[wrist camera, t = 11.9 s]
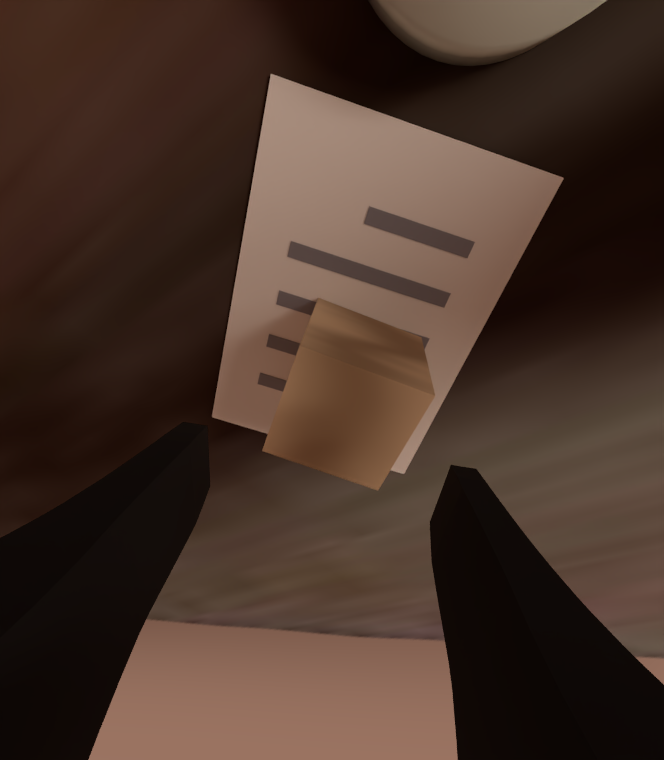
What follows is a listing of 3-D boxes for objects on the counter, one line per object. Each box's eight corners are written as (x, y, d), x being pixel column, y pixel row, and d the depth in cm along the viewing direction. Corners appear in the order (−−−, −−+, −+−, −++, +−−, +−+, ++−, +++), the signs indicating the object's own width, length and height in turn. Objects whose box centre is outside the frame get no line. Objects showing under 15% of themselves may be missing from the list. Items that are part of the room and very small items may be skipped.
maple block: (421, 337, 16) (435, 395, 12) (377, 419, 19) (378, 490, 15) (318, 297, 16) (299, 345, 12) (286, 386, 18) (261, 451, 14)
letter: (562, 177, 13) (564, 178, 13) (403, 472, 20) (404, 474, 20) (271, 74, 13) (270, 73, 12) (212, 416, 20) (211, 417, 19)
